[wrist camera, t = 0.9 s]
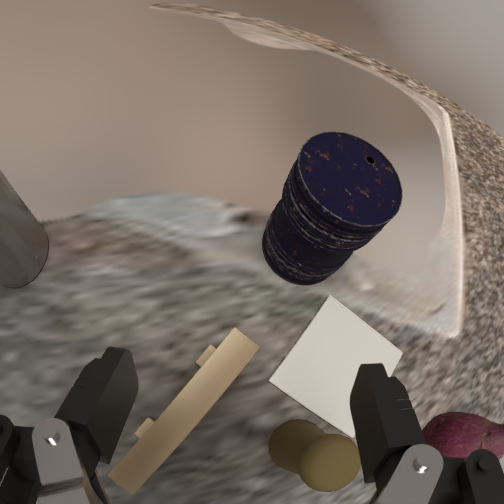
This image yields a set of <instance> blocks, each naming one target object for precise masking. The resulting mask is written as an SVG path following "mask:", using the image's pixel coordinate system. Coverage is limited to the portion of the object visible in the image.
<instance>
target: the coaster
mask: <svg viewBox="0 0 504 504" xmlns="http://www.w3.org/2000/svg"><path fill="white" fill-rule="evenodd" d="M402 354H403V352H401V351H400V350H399V349H398V348H396V347H395V346H394V345H393V344H391V343H390V342H389V341H388V340H386V339H385V338H384V337H383V336H381V335H380V334H379V333H378V332H376V331H375V330H374V329H373V328H371V327H370V326H369V325H368V324H366V323H365V322H364V321H363V320H361V319H360V318H359V317H358V316H356V315H355V314H354V313H353V312H351V311H350V310H349V309H347V308H346V307H345V306H344V305H342V304H341V303H340V302H339V301H337V300H336V299H335V298H333V297H332V296H331V295H329V296H328V297H327V298H326V300H325V301H324V303H323V304H322V306H321V307H320V309H319V310H318V312H317V313H316V315H315V316H314V318H313V319H312V320H311V322H310V323H309V325H308V326H307V328H306V329H305V330H304V332H303V333H302V335H301V336H300V337H299V339H298V340H297V342H296V343H295V344H294V346H293V347H292V349H291V350H290V351H289V353H288V354H287V355H286V357H285V358H284V359H283V361H282V362H281V363H280V365H279V366H278V368H277V369H276V370H275V371H274V373H273V374H272V375H271V377H270V378H269V379H268V381H269V382H270V383H272V384H273V385H274V386H276V387H277V388H278V389H280V390H281V391H283V392H284V393H285V394H287V395H288V396H290V397H291V398H292V399H294V400H295V401H297V402H298V403H299V404H301V405H302V406H304V407H305V408H307V409H308V410H310V411H311V412H313V413H314V414H315V415H317V416H318V417H320V418H321V419H323V420H324V421H326V422H327V423H329V424H330V425H332V426H334V427H335V428H337V429H338V430H340V431H341V432H343V433H344V434H346V435H347V436H349V437H351V438H353V437H354V436H355V430H354V425H353V420H352V416H351V411H350V394H351V391H352V388H353V385H354V382H355V379H356V375H357V372H358V369H359V367H360V365H361V364H370V363H382V364H383V365H384V367H385V370H386V372H387V375H388V377H390V376H391V374H392V373H393V371H394V369H395V367H396V365H397V363H398V361H399V359H400V357H401V356H402Z"/></svg>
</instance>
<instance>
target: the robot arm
mask: <svg viewBox="0 0 504 504" xmlns="http://www.w3.org/2000/svg"><path fill="white" fill-rule="evenodd" d="M47 253H48V238H47V234H46V232H45V230H44V228H43V227H42V226H41V224H40V223H39V222H38V221H37V219H36V218H35V217H34V215H33V214H32V213H31V211H30V210H29V209H28V207H27V206H26V205H25V204H24V202H23V201H22V199H21V198H20V197H19V195H18V194H17V193H16V191H15V190H14V189H13V187H12V186H11V184H10V183H9V182H8V180H7V179H6V177H5V176H4V174H3V173H2V171H1V170H0V283H1V284H3V285H4V286H6V287H11V288H17V287H21V286H24V285H26V284H27V283H29V282H31V281H32V280H33V279H34V278H35V277H36V276H37V275H38V273H39V272H40V271H41V269H42V267H43V265H44V263H45V260H46V257H47ZM137 392H138V378H137V374H136V370H135V366H134V363H133V359H132V355H131V352H130V350H128V349H122V348H115V347H108V348H107V349H106V351H105V353H104V354H103V356H102V358H101V359H98V358H95V359H94V360H92V361H91V362H90V363H89V364H87V365H86V366H85V367H84V369H83V370H82V372H81V374H80V375H79V379H78V378H77V380H76V382H75V383H74V387H72V388H71V390H70V392H69V393H68V395H67V397H66V398H65V400H64V402H63V404H62V405H61V407H60V409H59V411H58V412H57V414H56V416H55V417H54V418H48V419H45V420H42V421H41V422H39V423H38V424H37V425H36V426H35V427H20V426H14V425H13V423H12V422H11V421H10V419H9V418H8V417H6V416H4V415H0V482H1V480H2V478H3V475H4V473H5V471H6V469H7V467H8V470H7V472H6V474H5V477H4V479H3V481H2V483H1V486H0V504H36V501H37V498H38V501H39V504H111V503H110V501H109V499H108V497H107V494H106V492H105V490H104V487H103V485H102V482H101V480H100V477H99V475H98V472H97V470H96V467H97V464H98V462H99V461H100V462H103V463H107V464H110V461H111V459H112V456H113V453H114V451H115V448H116V446H117V443H118V440H119V438H120V435H121V433H122V430H123V428H124V425H125V423H126V420H127V418H128V415H129V413H130V410H131V408H132V405H133V403H134V401H135V398H136V396H137ZM412 407H413V406H412V404H411V401H410V400H409V396H408V394H407V391H406V389H405V386H404V385H403V384H402V383H401V382H400V381H399V380H398V379H397V378H396V377H388V375H387V372H386V370H385V367H384V365H383V364H382V363H370V364H361V365H360V367H359V369H358V372H357V375H356V379H355V382H354V385H353V388H352V391H351V394H350V411H351V416H352V420H353V425H354V430H355V435H356V440H357V444H358V449H359V455H360V460H361V465H362V470H363V476H364V481H365V484H366V483H373V482H375V483H376V488H377V490H376V491H375V493H374V494H373V496H372V497H371V499H370V501H369V502H368V504H504V473H503V470H502V468H501V465H500V463H499V460H498V458H497V456H496V455H495V454H494V453H493V452H491V451H489V450H486V449H477V450H475V451H473V452H472V453H470V454H469V456H468V457H467V458H454V457H444V456H441V454H440V453H439V451H438V450H437V449H435V448H434V447H432V446H429V445H427V443H426V441H425V438H424V436H423V433H422V430H421V427H420V425H419V422H418V419H417V417H416V414H415V411H414V409H412ZM41 488H42V489H41Z"/></svg>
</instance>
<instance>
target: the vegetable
mask: <svg viewBox="0 0 504 504" xmlns="http://www.w3.org/2000/svg"><path fill="white" fill-rule="evenodd" d="M422 433H423V436H424V438H425V441H426V443H427V445H429V446H432V447H434V448H435V449H437V450H438V451H439V453H440V454H441V456H444V457H454V458H467V457H468V456H469V454H470V453H472V452H473V451H475V450H477V449H486V450H489V451H491V452H493V453H494V454H495V455H496V456H497V458H498V460H500V459H501V458H502V457H503V455H504V424H497V423H493V422H491V421H489V420H487V419H485V418H483V417H481V416H478V415H475V414H470V413H464V412H449V413H444V414H440V415H438V416H436V417H434V418H433V419H432V420H431V421H430V422H429V423H428V424H427V425H426V426H425V428H424V429H423V430H422Z"/></svg>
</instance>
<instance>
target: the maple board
mask: <svg viewBox="0 0 504 504" xmlns="http://www.w3.org/2000/svg"><path fill="white" fill-rule="evenodd" d="M258 349H259V346H258V345H256V344H255V343H254V342H252V341H251V340H250V339H249V338H247V337H246V336H245V335H243V334H242V333H241V332H240V331H238V330H237V329H236V328H235V327H234V329H233V330H232V331H231V332H230V334H229V335H228V336H227V337H226V338H225V340H224V341H223V342H222V343H221V344H220V346H219V347H218V348H217V349H216V348H214V347H213V346H212V345H211V344H210V346H209V347H208V348H207V349H206V350H205V352H204V353H203V354H202V355H201V356H200V358H199V359H198V360H197V361H196V364H198V365H199V366H200V367H201V368H200V370H199V371H198V372H197V373H196V374H195V375H194V377H193V378H192V379H191V380H190V381H189V383H188V384H187V385H186V386H185V387H184V388H183V390H182V391H181V392H180V393H179V394H178V395H177V397H176V398H175V399H174V400H173V401H172V402H171V404H170V405H169V406H168V407H167V408H166V409H165V410H164V412H163V413H162V414H161V415H160V416H159V417H158V419H157V420H156V421H155V420H154V419H153V418H151V417H150V416H149V417H148V418H147V419H146V420H145V421H144V423H143V424H142V425H141V426H140V427H139V428H138V429H137V431H136V432H135V433H134V434H135V435H136V436H137V437H138V438H140V439H139V440H138V441H137V442H136V443H135V445H134V446H133V447H132V448H131V449H130V450H129V451H128V452H127V454H126V455H125V456H124V457H123V458H122V459H121V460H120V461H119V462H118V463H117V465H116V466H115V467H114V468H113V469H112V470H111V471H110V472H109V473H108V474H107V476H108V477H109V478H111V479H112V480H113V481H114V482H115V483H117V484H118V485H119V486H120V487H122V488H123V489H124V490H126V491H127V492H128V493H129V494H131V495H133V494H134V493H135V492H136V491H137V490H138V489H139V488H140V487H141V486H142V485H143V484H144V483H145V482H146V480H147V479H148V478H149V477H150V476H151V475H152V474H153V473H154V472H155V471H156V470H157V469H158V467H159V466H160V465H161V464H162V463H163V462H164V461H165V460H166V459H167V458H168V456H169V455H170V454H171V453H172V452H173V451H174V450H175V449H176V448H177V446H178V445H179V444H180V443H181V442H182V441H183V440H184V438H185V437H186V436H187V435H188V434H189V433H190V432H191V430H192V429H193V428H194V427H195V426H196V425H197V423H198V422H199V421H200V420H201V419H202V418H203V416H204V415H205V414H206V413H207V412H208V411H209V409H210V408H211V407H212V406H213V405H214V403H215V402H216V401H217V400H218V399H219V397H220V396H221V395H222V394H223V393H224V391H225V390H226V389H227V388H228V386H229V385H230V384H231V383H232V381H233V380H234V379H235V378H236V377H237V375H238V374H239V373H240V372H241V370H242V369H243V368H244V367H245V365H246V364H247V363H248V362H249V360H250V359H251V358H252V356H253V355H254V354H255V353H256V351H257V350H258Z"/></svg>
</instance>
